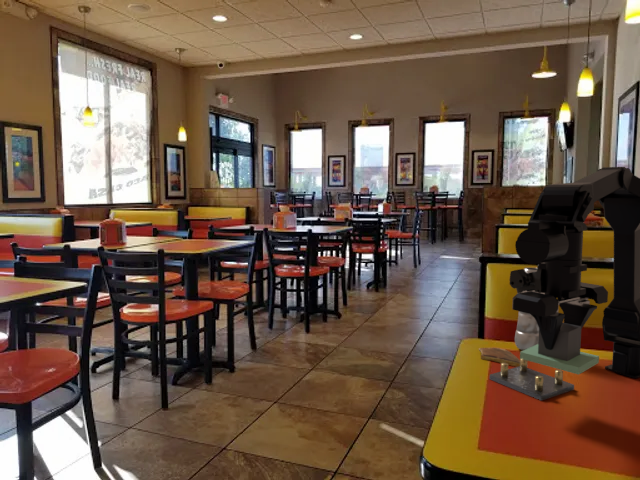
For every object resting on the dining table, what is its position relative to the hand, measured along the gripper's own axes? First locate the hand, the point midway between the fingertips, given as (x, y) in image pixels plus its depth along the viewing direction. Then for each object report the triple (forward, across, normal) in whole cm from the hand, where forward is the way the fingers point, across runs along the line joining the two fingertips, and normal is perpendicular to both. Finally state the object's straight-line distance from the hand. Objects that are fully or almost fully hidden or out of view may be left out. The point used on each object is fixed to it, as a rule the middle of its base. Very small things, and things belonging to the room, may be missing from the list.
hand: (559, 346), depth 86 cm
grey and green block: (+2, 0, 0) cm, 3 cm away
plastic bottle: (+12, -24, -24) cm, 36 cm away
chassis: (+12, -6, -10) cm, 17 cm away
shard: (+13, -14, -23) cm, 30 cm away
